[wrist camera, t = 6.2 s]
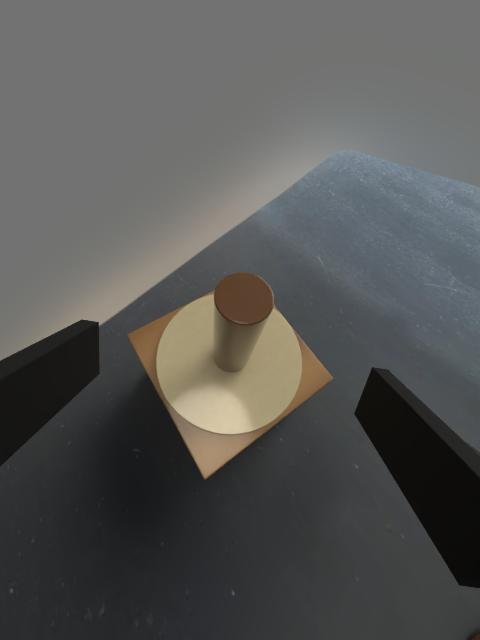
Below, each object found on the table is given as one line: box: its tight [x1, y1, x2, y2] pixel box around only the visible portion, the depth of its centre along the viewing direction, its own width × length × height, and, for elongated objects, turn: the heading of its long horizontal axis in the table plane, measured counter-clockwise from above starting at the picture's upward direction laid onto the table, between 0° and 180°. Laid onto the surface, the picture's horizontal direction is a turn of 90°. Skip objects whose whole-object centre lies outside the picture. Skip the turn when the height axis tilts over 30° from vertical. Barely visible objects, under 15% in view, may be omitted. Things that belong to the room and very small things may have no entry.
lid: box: [156, 272, 302, 435], centre depth 14 cm, size 10×10×8 cm
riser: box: [127, 290, 333, 479], centre depth 22 cm, size 11×11×9 cm
